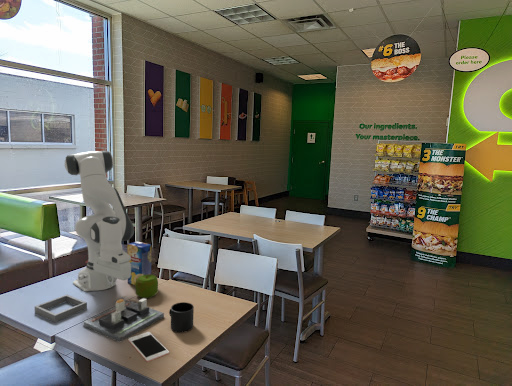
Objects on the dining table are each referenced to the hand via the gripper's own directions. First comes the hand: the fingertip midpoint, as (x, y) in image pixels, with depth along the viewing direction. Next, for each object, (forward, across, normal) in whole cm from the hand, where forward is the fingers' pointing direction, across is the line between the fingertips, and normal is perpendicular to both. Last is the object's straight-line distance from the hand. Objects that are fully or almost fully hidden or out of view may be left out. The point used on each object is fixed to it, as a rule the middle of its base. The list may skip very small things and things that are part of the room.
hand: (111, 284), depth 154 cm
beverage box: (+15, -18, +33) cm, 41 cm away
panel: (+15, +8, 0) cm, 17 cm away
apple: (+15, -3, +24) cm, 28 cm away
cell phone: (+15, +30, -8) cm, 35 cm away
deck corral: (+15, -22, -9) cm, 28 cm away
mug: (+15, +31, +10) cm, 35 cm away
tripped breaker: (+10, +5, 0) cm, 12 cm away
